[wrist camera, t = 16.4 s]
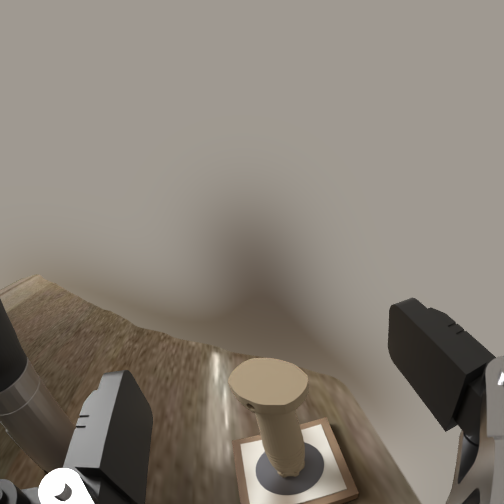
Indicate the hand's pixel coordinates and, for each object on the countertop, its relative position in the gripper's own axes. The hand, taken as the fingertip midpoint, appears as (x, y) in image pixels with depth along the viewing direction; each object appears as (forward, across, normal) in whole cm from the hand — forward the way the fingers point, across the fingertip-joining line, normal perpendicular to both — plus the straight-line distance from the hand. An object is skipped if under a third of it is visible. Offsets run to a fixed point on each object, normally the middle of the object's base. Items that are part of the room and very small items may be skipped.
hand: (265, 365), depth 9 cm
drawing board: (+11, 0, +28) cm, 30 cm away
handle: (+11, 0, +26) cm, 29 cm away
